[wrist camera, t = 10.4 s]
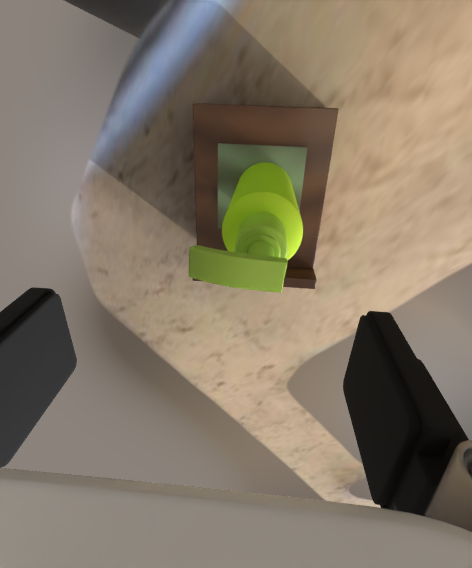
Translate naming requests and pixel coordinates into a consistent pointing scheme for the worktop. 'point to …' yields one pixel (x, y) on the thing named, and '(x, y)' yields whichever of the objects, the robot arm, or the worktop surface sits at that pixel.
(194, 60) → the worktop surface
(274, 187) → the soap dispenser
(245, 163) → the wooden picture frame
